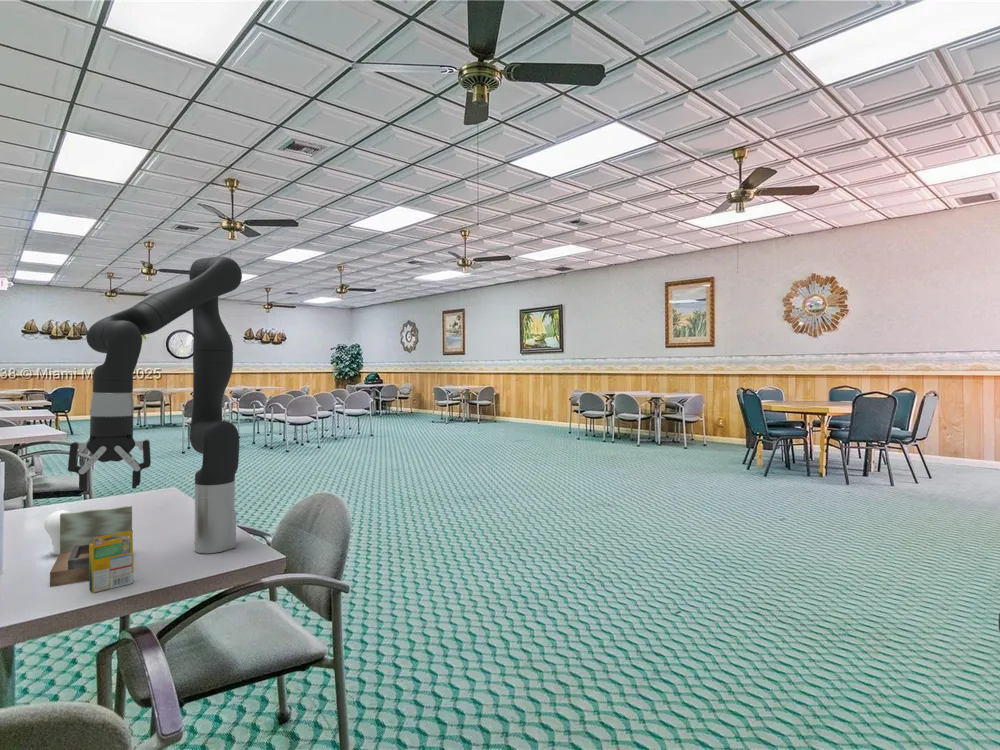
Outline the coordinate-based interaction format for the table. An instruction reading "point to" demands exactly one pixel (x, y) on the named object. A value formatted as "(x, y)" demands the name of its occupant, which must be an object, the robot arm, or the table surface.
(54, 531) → the lightbulb
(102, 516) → the display stand
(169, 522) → the table surface
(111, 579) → the crayon box
